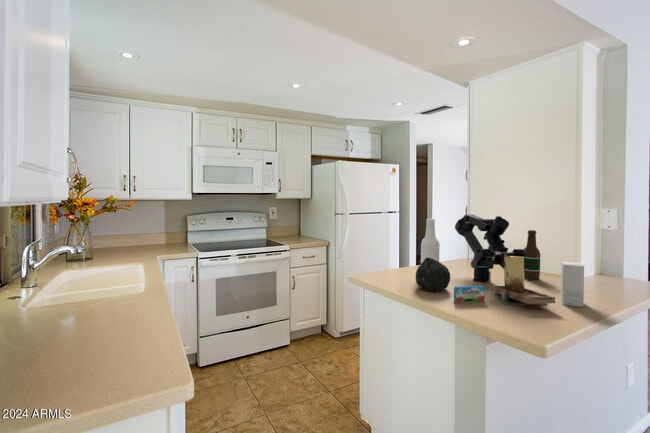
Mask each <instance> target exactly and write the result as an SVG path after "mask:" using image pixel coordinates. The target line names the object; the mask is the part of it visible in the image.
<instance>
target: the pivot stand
mask: <svg viewBox="0 0 650 433" xmlns="http://www.w3.org/2000/svg"><path fill="white" fill-rule="evenodd" d="M495 299H496V300H498V301H499V302H501V303H503V304H504V305H506V306H547V305H548V303H542V304H526V303H524V302H521V301H518V300H515V299H513V298H510V297H508V293H506V292H502V294H501V296H496V298H495Z"/></svg>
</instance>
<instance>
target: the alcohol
mask: <svg viewBox="0 0 650 433" xmlns="http://www.w3.org/2000/svg"><path fill="white" fill-rule="evenodd" d="M425 222H426V227H425V236H424V237H423V239H422V240H421V244H420V265H421V264H422V262H423V261H424V260H425V259H426V258H432V259H434V260H436V261H438V262H440V249H441V248H440V247H441V246H440V241H439V240H438V238H437V237H436V225H435V218H426V221H425Z"/></svg>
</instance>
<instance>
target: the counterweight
mask: <svg viewBox="0 0 650 433" xmlns="http://www.w3.org/2000/svg"><path fill="white" fill-rule="evenodd" d="M503 270H504V271H503V273H504V276H503V277H504V278H503V279H504V281H503V282H504V286H505V290H508V291H512V292H515V293H525V285H526V284H525V279H524V257H519V256H504V269H503Z"/></svg>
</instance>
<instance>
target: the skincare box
mask: <svg viewBox="0 0 650 433" xmlns="http://www.w3.org/2000/svg"><path fill="white" fill-rule="evenodd" d="M560 273H561V274H560V275H561V279H560V281H561V282H560V283H561V284H560V285H561V287H560V288H561V289H560V300H561V303H562V305H563V306H568V307H569V306H570V307H577V308H578V307H579V308H583V307H584V299H585V298H584V295H585V294H584V292H585V289H584V288H585V287H584V286H585V266H584V264H583V263H582V262H577V261H575V262H574V261H561V272H560Z"/></svg>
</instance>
